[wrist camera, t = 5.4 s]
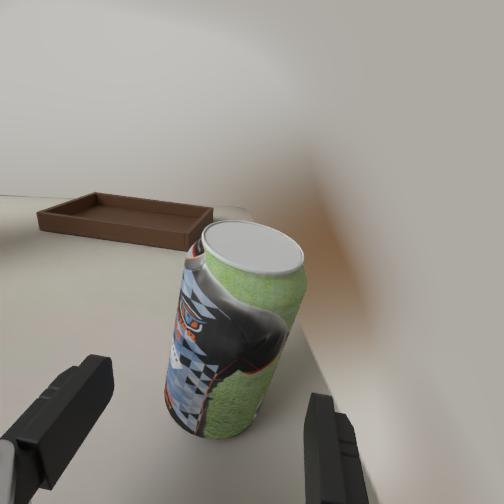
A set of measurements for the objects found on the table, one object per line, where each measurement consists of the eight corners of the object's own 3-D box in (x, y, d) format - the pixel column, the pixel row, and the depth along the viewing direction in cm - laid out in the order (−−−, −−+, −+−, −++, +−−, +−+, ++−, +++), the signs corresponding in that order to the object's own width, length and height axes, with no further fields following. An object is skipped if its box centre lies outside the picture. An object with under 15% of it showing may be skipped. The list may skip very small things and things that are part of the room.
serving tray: (212, 222, 53) (213, 207, 52) (188, 251, 40) (189, 233, 39) (96, 206, 54) (94, 192, 53) (39, 230, 42) (36, 212, 41)
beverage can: (193, 358, 23) (198, 202, 18) (288, 389, 21) (322, 226, 16) (141, 430, 17) (128, 234, 13) (264, 481, 16) (303, 275, 11)
